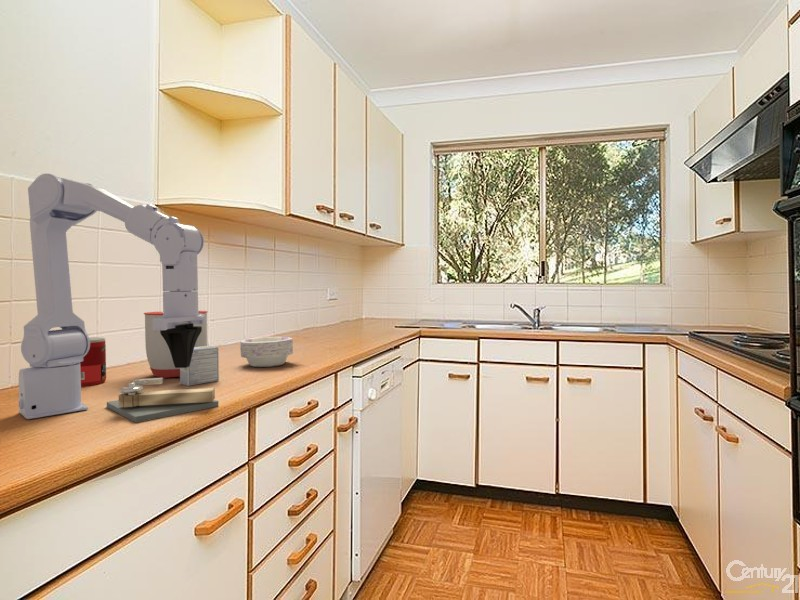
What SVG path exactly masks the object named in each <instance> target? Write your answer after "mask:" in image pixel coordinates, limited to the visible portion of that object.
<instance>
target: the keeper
mask: <svg viewBox="0 0 800 600" xmlns="http://www.w3.org/2000/svg"><path fill="white" fill-rule="evenodd" d="M132 383H135V386H142V391H141V392H144V386H152V385H153V386H154V385H155V386H156V385H163V383H164V378H162V377H152V378H150V377H149V378H136V379H135V378H134V379H133V380H132Z"/></svg>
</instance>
